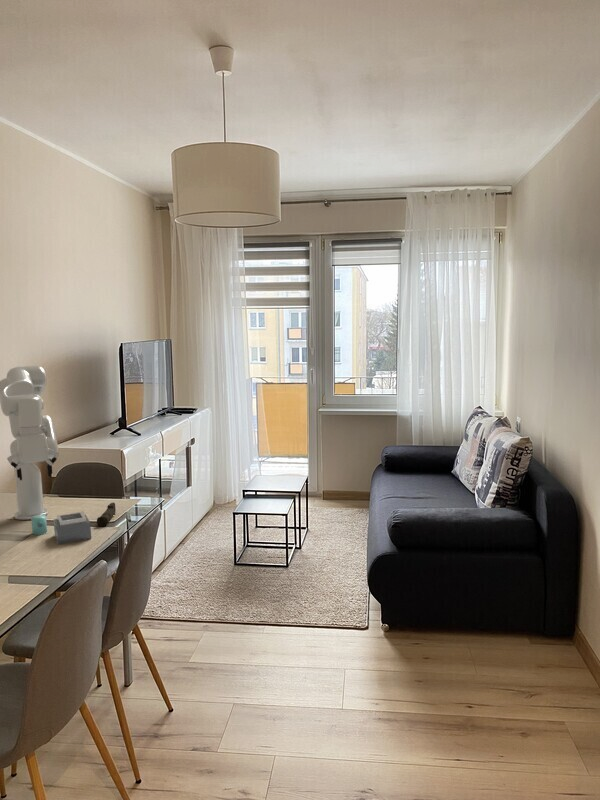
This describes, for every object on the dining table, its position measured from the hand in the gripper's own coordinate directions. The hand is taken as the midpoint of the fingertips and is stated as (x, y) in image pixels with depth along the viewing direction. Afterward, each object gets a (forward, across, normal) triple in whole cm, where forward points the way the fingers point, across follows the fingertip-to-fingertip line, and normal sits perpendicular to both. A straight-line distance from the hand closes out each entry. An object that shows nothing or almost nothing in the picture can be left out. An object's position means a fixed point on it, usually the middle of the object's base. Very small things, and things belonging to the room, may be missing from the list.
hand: (35, 477), depth 233 cm
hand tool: (+21, -25, -4) cm, 33 cm away
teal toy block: (+21, 0, 0) cm, 21 cm away
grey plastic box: (+21, -10, +12) cm, 26 cm away
